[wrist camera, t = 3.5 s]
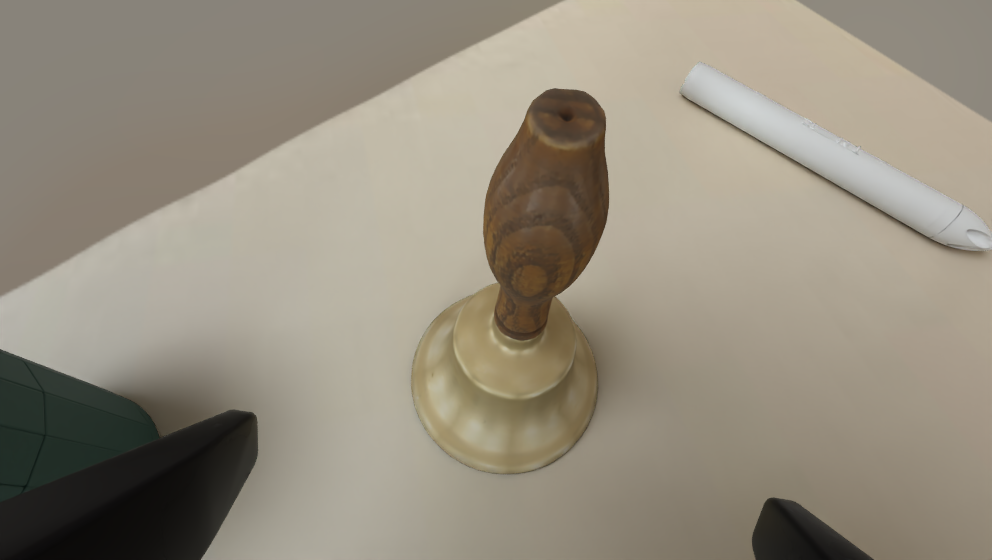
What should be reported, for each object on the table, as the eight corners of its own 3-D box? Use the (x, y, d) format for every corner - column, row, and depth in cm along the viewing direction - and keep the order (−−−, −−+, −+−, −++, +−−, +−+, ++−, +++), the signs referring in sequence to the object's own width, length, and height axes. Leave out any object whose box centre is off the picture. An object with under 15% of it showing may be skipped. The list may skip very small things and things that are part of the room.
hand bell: (633, 412, 22) (940, 190, 8) (466, 514, 20) (452, 473, 5) (535, 265, 25) (622, -90, 11) (381, 340, 23) (232, 21, 9)
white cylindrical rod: (982, 247, 27) (1026, 222, 24) (970, 273, 26) (1015, 250, 24) (691, 82, 31) (707, 50, 29) (674, 100, 30) (689, 68, 28)
